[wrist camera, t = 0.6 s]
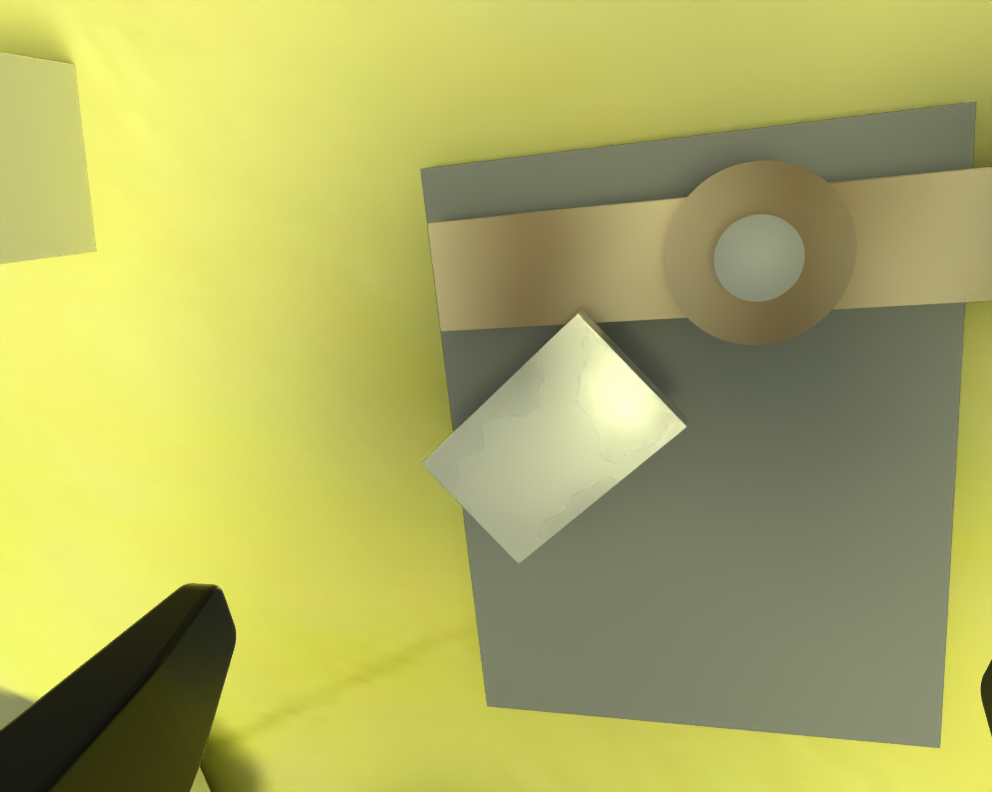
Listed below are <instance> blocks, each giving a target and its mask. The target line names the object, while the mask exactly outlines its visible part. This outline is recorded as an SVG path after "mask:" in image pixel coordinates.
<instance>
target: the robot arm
mask: <svg viewBox="0 0 992 792" xmlns="http://www.w3.org/2000/svg"><path fill="white" fill-rule="evenodd" d="M235 642H236V629H235V625H234V622H233V619H232V616H231V613H230V611H229V608H228V605H227V602H226V599H225V596H224V593H223V591H222V589H221V588H219V587H218V586H217V585H213V584H197V583H190V584H185V585H183V586H181V587H180V588H178V589H177V590H176V591H175V592H173V593H172V594H171V595H170V596H168V597H167V598H166V599H164V600H163V601H162V602H161V603H159V604H158V605H157V606H156V607H154V608H153V609H152V610H151V611H149V612H148V613H147V614H146V615H144V616H143V617H142V618H141V619H139V620H138V621H137V622H136V623H134V624H133V625H132V626H131V627H129V628H128V629H127V630H125V631H124V632H123V633H122V634H120V635H119V636H118V637H117V638H115V639H114V640H113V641H112V642H110V643H109V644H108V645H107V646H105V647H104V648H103V649H102V650H100V651H99V652H98V653H97V654H95V655H94V656H93V657H92V658H90V659H89V660H88V661H87V662H85V663H84V664H83V665H81V666H80V667H79V668H78V669H76V670H75V671H74V672H73V673H71V674H70V675H69V676H68V677H66V678H65V679H64V680H63V681H61V682H60V683H59V684H58V685H56V686H55V687H54V688H53V689H51V690H50V691H49V692H48V693H46V694H45V695H44V696H42V697H41V698H40V699H39V700H37V701H36V702H35V703H34V704H33V705H31V706H30V707H29V708H27V709H26V710H25V711H24V712H22V713H21V714H20V715H19V716H17V717H16V718H15V719H14V720H12V721H11V722H10V723H9V724H7V725H6V726H5V727H4V728H2V729H1V730H0V792H190V791H191V788H192V785H193V783H194V780H195V777H196V775H197V772H198V770H199V767H200V764H201V760H202V757H203V754H204V751H205V748H206V744H207V741H208V737H209V734H210V731H211V727H212V724H213V720H214V717H215V713H216V710H217V707H218V703H219V700H220V696H221V693H222V689H223V686H224V682H225V679H226V676H227V672H228V669H229V665H230V662H231V658H232V655H233V651H234V648H235ZM981 698H982V703H983V706H984V710H985V714H986V717H987V721H988V725H989V728H990V732H991V736H992V660H991V662H990V664H989V666H988V668H987V670H986V672H985V673H984V675H983V678H982V682H981Z"/></svg>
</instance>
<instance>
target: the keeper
mask: <svg viewBox="0 0 992 792" xmlns="http://www.w3.org/2000/svg"><path fill="white" fill-rule="evenodd" d="M687 420H688V418H687V417H686V416H685V415H684V414H683V413H682V412H681V411H680V410H679V409H678V408H677V407H676V406H675V405H674V404H673V403H672V402H671V401H670V400H669V399H668V397H667V396H666V395H665V394H664V393H663V392H662V391H661V390H660V389H659V388H658V387H657V386H656V385H655V384H654V383H653V382H652V381H651V380H650V379H649V378H648V377H647V376H646V375H645V374H644V373H643V372H642V370H641V369H640V368H639V367H638V366H637V365H636V364H635V363H634V362H633V361H632V360H631V359H630V358H629V357H628V356H627V355H626V354H625V353H624V352H623V351H622V350H621V349H620V348H619V347H618V346H617V345H616V344H615V342H614V341H613V340H612V339H611V338H610V337H609V336H608V335H607V334H606V333H605V332H604V331H603V330H602V329H601V328H600V327H599V326H598V325H597V324H596V323H595V322H594V321H593V320H592V319H591V318H590V317H589V316H588V314H587V313H586V312H585V311H584V310H583V309H581V310H580V311H579V312H578V313H577V314H576V315H575V316H574V317H573V318H572V319H571V320H570V321H569V322H568V323H567V324H566V325H565V326H564V327H563V328H562V329H561V330H560V331H559V332H557V333H556V334H555V335H554V336H553V337H552V338H551V339H550V340H549V341H548V342H547V343H546V344H545V345H544V346H543V347H542V348H541V349H540V350H539V351H538V352H537V353H536V354H535V355H534V356H532V357H531V358H530V359H529V360H528V361H527V362H526V363H525V364H524V365H523V366H522V367H521V368H520V369H519V370H518V371H517V372H516V373H515V374H514V375H513V376H512V377H511V378H510V379H509V380H508V381H506V382H505V383H504V384H503V385H502V386H501V387H500V388H499V389H498V390H497V391H496V392H495V393H494V394H493V395H492V396H491V397H490V398H489V399H488V400H487V401H486V402H485V403H484V404H483V405H481V406H480V407H479V408H478V409H477V410H476V411H475V412H474V413H473V414H472V415H471V416H470V417H468V418H467V419H466V420H465V421H464V422H463V423H462V424H461V425H460V426H459V427H458V428H457V429H456V430H455V431H454V432H452V433H451V434H450V435H449V436H448V437H447V438H446V439H445V440H444V441H443V442H442V443H441V444H440V445H439V446H438V447H437V448H436V449H435V450H434V451H433V452H432V453H431V454H430V455H429V456H428V457H427V458H426V459H425V460H424V461H423V462H422V463H421V464H422V465H423V466H424V467H425V468H426V469H427V470H428V471H429V472H430V473H431V474H432V475H433V476H434V477H435V478H436V479H437V481H438V482H439V483H440V484H441V485H442V486H443V487H444V488H445V489H446V490H447V491H448V492H449V493H450V494H451V495H452V496H453V497H454V498H455V499H456V500H457V501H458V502H459V503H460V504H461V505H462V506H463V507H464V508H465V509H466V510H467V511H468V512H469V513H470V514H471V515H472V517H473V518H474V519H475V520H476V521H477V522H478V523H479V524H480V525H481V526H482V527H483V528H484V529H485V530H486V531H487V532H488V533H489V534H490V535H491V536H492V537H493V538H494V539H495V540H496V541H497V542H498V543H499V544H500V545H501V546H502V547H503V548H504V549H505V550H506V551H507V553H508V554H509V555H510V556H511V557H512V558H513V559H514V560H515V561H516V562H517V563H518V564H519V563H520V562H522V561H523V560H524V559H525V558H526V557H528V556H529V555H530V554H531V553H533V552H534V551H535V550H536V549H538V548H539V547H540V546H541V545H542V544H544V543H545V542H546V541H547V540H549V539H550V538H551V537H552V536H553V535H555V534H556V533H557V532H558V531H560V530H561V529H562V528H563V527H564V526H566V525H567V524H568V523H569V522H571V521H572V520H573V519H574V518H576V517H577V516H578V515H579V514H580V513H582V512H583V511H584V510H585V509H587V508H588V507H589V506H590V505H591V504H593V503H594V502H595V501H596V500H598V499H599V498H600V497H601V496H602V495H604V494H605V493H606V492H607V491H609V490H610V489H611V488H612V487H613V486H615V485H616V484H617V483H618V482H620V481H621V480H622V479H623V478H625V477H626V476H627V475H628V474H629V473H631V472H632V471H633V470H634V469H636V468H637V467H638V466H639V465H640V464H642V463H643V462H644V461H645V460H647V459H648V458H649V457H650V456H651V455H653V454H654V453H655V452H656V451H658V450H659V449H660V448H661V447H663V446H664V445H665V444H666V443H667V442H669V441H670V440H671V439H672V438H674V437H675V436H676V435H677V434H678V433H680V432H681V431H682V430H683V429H685V428H686V427H687Z"/></svg>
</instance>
